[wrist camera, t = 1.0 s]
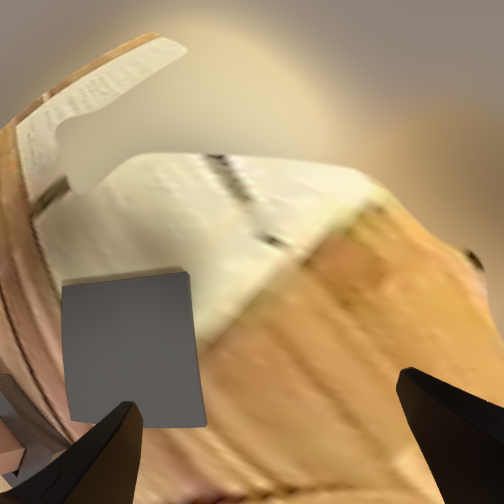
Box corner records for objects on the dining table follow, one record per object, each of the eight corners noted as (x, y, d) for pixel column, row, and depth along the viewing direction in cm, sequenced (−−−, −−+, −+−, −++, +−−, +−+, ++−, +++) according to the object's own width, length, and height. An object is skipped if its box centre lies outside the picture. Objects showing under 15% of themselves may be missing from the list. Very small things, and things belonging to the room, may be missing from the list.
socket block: (72, 446, 19) (53, 454, 15) (46, 498, 15) (30, 507, 12) (9, 374, 21) (-11, 373, 17) (-10, 432, 17) (-28, 434, 14)
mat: (207, 424, 20) (205, 427, 19) (76, 419, 20) (71, 420, 19) (189, 275, 25) (187, 271, 24) (67, 288, 24) (62, 286, 23)
